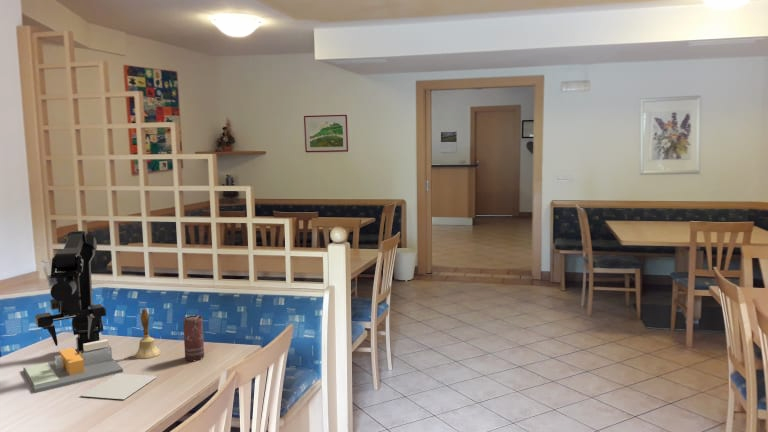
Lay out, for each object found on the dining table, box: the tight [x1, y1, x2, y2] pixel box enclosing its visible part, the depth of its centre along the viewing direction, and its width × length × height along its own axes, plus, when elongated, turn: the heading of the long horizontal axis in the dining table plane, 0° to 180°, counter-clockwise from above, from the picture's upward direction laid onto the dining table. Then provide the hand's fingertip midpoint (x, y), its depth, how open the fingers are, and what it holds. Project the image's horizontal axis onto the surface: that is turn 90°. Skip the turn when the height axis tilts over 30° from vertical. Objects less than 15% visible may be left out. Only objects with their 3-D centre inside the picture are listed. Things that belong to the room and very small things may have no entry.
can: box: [182, 315, 205, 361], centre depth 193 cm, size 6×6×14 cm
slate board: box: [22, 357, 124, 393], centre depth 183 cm, size 24×22×1 cm
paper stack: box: [79, 373, 158, 400], centre depth 165 cm, size 23×25×1 cm
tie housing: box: [54, 344, 113, 372], centre depth 185 cm, size 16×3×4 cm, turn 129°
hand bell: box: [134, 308, 162, 360], centre depth 196 cm, size 8×8×16 cm
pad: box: [25, 362, 59, 386], centre depth 178 cm, size 6×18×1 cm, turn 40°
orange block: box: [59, 347, 84, 375], centre depth 183 cm, size 4×14×4 cm, turn 39°
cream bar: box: [83, 338, 109, 351], centre depth 187 cm, size 7×2×2 cm, turn 129°
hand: (73, 342), depth 179 cm, fingers open, 9 cm apart
